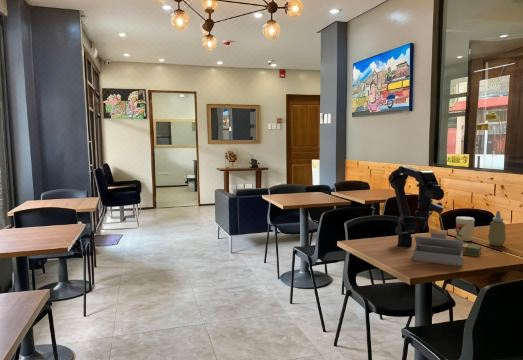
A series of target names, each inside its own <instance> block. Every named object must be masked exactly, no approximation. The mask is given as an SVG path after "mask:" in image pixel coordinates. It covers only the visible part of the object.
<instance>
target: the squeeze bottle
mask: <svg viewBox="0 0 523 360" xmlns="http://www.w3.org/2000/svg"><path fill="white" fill-rule="evenodd" d="M487 238H488V241H489V244H490V245H491V246H494V247H495V246H496V247H502V246H501V245H503V246H504V244H505V243H506V240H507V234H506V223H505V222H504V218H503V217H501V211H500V210H497V211H496V213H495V216H494V217H492V221H490V224H489V230H488V237H487Z"/></svg>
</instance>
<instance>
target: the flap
mask: <svg viewBox="0 0 523 360" xmlns="http://www.w3.org/2000/svg"><path fill="white" fill-rule="evenodd" d="M429 234H430V236H421V235H414V241H415V245H424V246H433V247H442V248H443V247H444V248H453V249H463V243H464V241H463V240H458V239H450V238H447V236H448V230H446V229H445V230H444V229H443V230H442V229H434V228H431V229H429Z"/></svg>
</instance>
